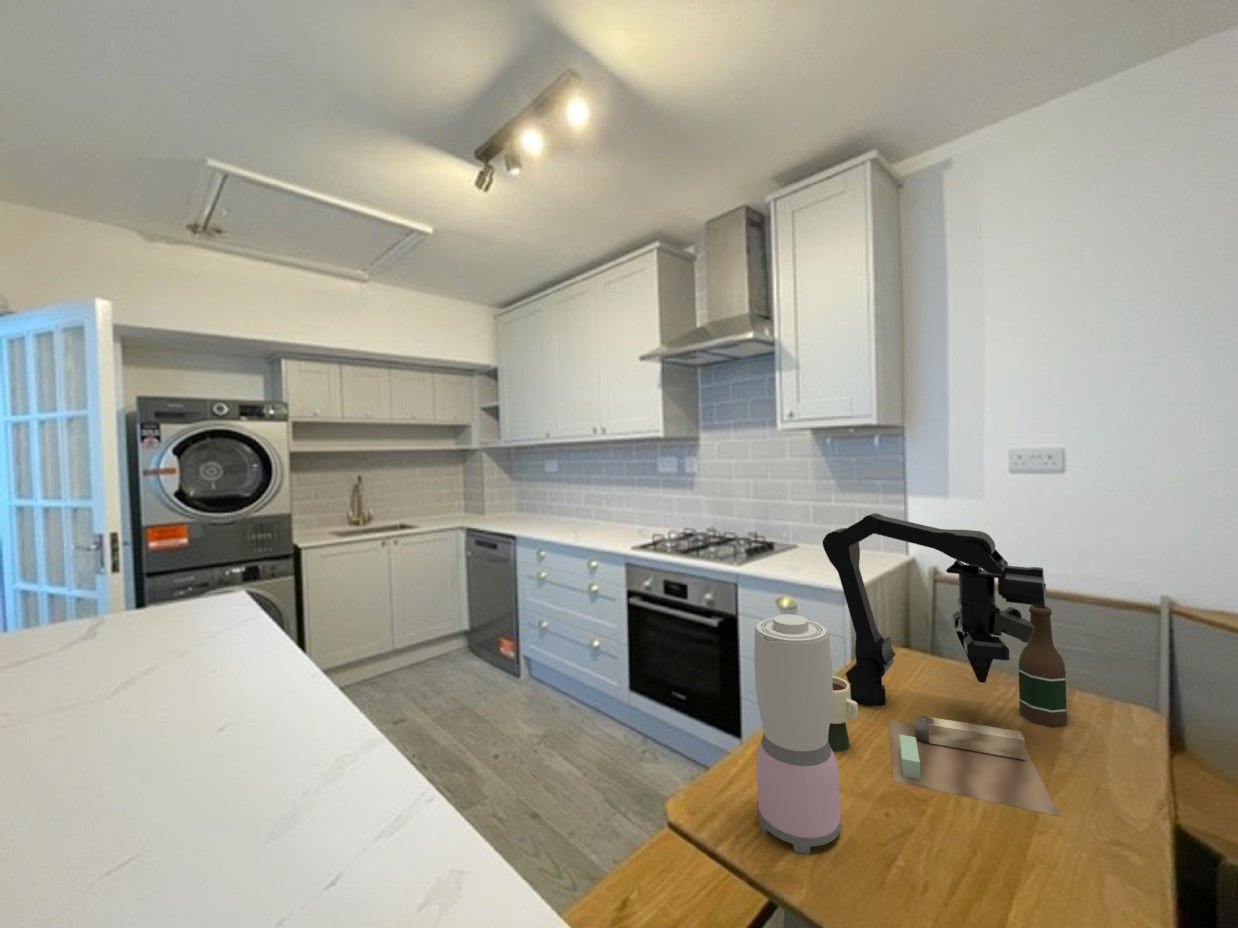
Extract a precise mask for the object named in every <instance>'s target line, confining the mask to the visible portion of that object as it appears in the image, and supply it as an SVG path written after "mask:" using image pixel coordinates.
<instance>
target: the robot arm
mask: <svg viewBox="0 0 1238 928" xmlns="http://www.w3.org/2000/svg"><path fill="white" fill-rule="evenodd" d="M872 535H878V536H882V537H887V538H891V539H893V540H894V539H895V540H899V541H901V542H906V543H910V544H914V545H918V546H922V547H927V548H930V549H933V550H936V551H939V552H941V553H942V554H945V555H946V556H948V557H949V558H952V559H954V560H955V561H954V562H953V564H951V565H950V566H949V567H948V568H947V569H946V571H945V572H946V573H948V574H954V575H955V574H957V575H958V594H959V595H958V598H957V605H958V606H959V610H958V611H956V612H954V613H953V614H952V615H951V617H952V627H954V628H955V629H958V628H959V627H960V630H959V631H958V630H957V631H955V634H956V636H957V638H958V640H959V643H960V645H961V647H962V648H963V650H964V651H963V652H964V653H965V655H966V658H967V659H968V662H969V664H970V666H971V669H972V671H973V673H974V675H975V677H976V679H977V681H978V683H982V684H983V683H984V684H986V681H987V679H988V676H989V672H990V669H991V665H992V662H993V661H994V660H999V661H1010V649H1009V647H1008V646H1007V644H1006V643H1005V642H1004V641H1003V640H1002V639H1001V638H1000V637H1002V634H1005V635H1007V636H1010V637H1013V638H1016V639H1018V640H1020V641H1021V642H1024V643H1026V644H1028V643H1029V641H1030V639H1031V637H1032V635H1033V632H1034V630H1035V627H1034V626H1033V624H1032V623H1031V622H1030V620H1028V619H1027V618H1022V613H1021V611H1020V610H1019V609H1018V608H1015V607H1013V606H1009V607H1008V608H1006V609H1004V610H1002V609H1000V608H999V607H998V606H997V604H996V584H995V583H996V582H995V581H996V580H995V578H996V579H997V591H998V592H997V593H998V596H1001V599H1005V601H1006V603H1012V604H1013V603H1015V604H1020V605H1036V606H1043V607H1045V606H1046V605H1047V584H1046V582H1045V577H1044V576H1045V575H1044V568H1043V567H1039V566H1037V567H1036V566H1031V567H1027V566H1026V567H1025V566H1014V565H1009V563H1008V561H1006V559H1005V558H1004V557H1003V556H1002V555H1001V554H1000V552H999V551H998V550H997V549H996V544H995V541H994V540H993V538H992V536H991V535H989V533H986V532H984V531H981V530H970V529H944V528H937V527H934V526H929V525H924V524H921V523H920V524H919V523H915V522H911V521H907V520H903V519H898V518H895V517H888V516H885V515H883V514H880V513H877V512H875V513H870V514H868V515H866V516H864V517H863V518H862V519H861V520H859V521H857V522H856V523H854V524H852V525H850V526H847V527H842V528H841V527H840V528H838V529H835V530H833V531H831V532H828V533H827V534H826V535H825V536H824V538H823V540H822V548H823V550H824V552H825V554H826V556H827V558H828V561H829V562H830V564H831V565H832V566H833V567H834V569H835V570H836V572H837V573H838V576H839V580H840V584H841V587H842V590H843V594H844V597H845V601H846V604H847V608H848V609H847V610H848V611H849V615H850V619H851V622H852V626H853V629H854V634H855V644H854V645H855V646H854V654H855V663H854V664H852V666H851V667H850V668H849V669H848V670H847V671H846V672H845V676H846V679H847V682H848V683H849V685H850V696H851V700H853V701H855V702H856V703H857V704H858V705H862V706H865V707H877V706H881V707H882V706H886V705H887V702H886V699H887V698H886V687H885V686H886V685H884V684H883V679H882V678H883V676H885V674H886V673H887V672H888V671H889V669H890V668H892V665H893V664H894V658H895V657H896V653H895V651H894V650H893V648H892V641H891V638H890V637H889V636H888V637H883V635H882V634H881V633H880V632H879V630H878V627H877V624H876V622H875V617H874V614H873V611H872V607H871V604H870V603H871V602H870V600H869V597H868V593H867V591H866V587H865V582H864V580H863V576H862V573H861V569H860V559H861V558H860V557H861V556H860V555H861V549H860V542H862V541H863V540H865V539H867V538H868V537H870V536H872ZM1046 607H1047V606H1046ZM999 636H1000V637H999Z"/></svg>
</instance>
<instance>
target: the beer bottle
mask: <svg viewBox="0 0 1238 928" xmlns="http://www.w3.org/2000/svg"><path fill="white" fill-rule="evenodd" d="M1028 612H1029V613H1030V620H1029V622H1031V623H1032V624H1033V626H1034V627H1035V630H1034V632H1033V635H1032V637H1031V639H1030V641H1029V643H1026V645H1025V647H1023V649H1022V650H1021V653H1020V655H1019V658H1018V695H1019V696H1018V698H1019V699H1018V701H1019V715H1020V717H1022V718H1024V719H1026V720H1027V721H1028V722H1030V723H1032V724H1036V725H1041V726H1044V727H1048V728H1051V729H1052V728H1053V729H1054V728H1063V727H1064V728H1066V727H1067V725H1068V724H1067V723H1068V722H1067V721H1068V720H1067V719H1068V713H1067V712H1068V711H1067V710H1068V709H1067V680H1066V679H1067V677H1066V676H1067V675H1066V666H1065V661H1064V660H1063V658H1062V657H1063V656H1062V655H1061V653H1060V652H1059V651H1058V650H1057V649H1056V647H1055V644H1054V640H1053V632H1052V630H1053V629H1052V621H1051V616H1052V614H1053V612H1052V609H1051V608H1050V607H1049V606H1045V607H1043V606H1036V605H1030V606H1029V609H1028Z"/></svg>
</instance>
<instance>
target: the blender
mask: <svg viewBox="0 0 1238 928" xmlns="http://www.w3.org/2000/svg"><path fill="white" fill-rule="evenodd" d="M830 643H831V642H830V633H829V630H828V629H827V628H826V627H825V626H824V625H823V624H820V623H819V622H817V621H813V620H810V619H807V618H806V617H805V616H803V615H799V614H791V613H790V614H789V613H786V614H785V613H784V614H778V615H776V616H774V617H771V618H767V619H763V620H761V621H759V622H758V623H757V624H756V626H755V627H754V649H753V651H754V653H753V657H754V658H753V659H754V679H755V680H754V681H755V693H756V698H757V705H758V710H759V715H760V719H761V723H762V730H763V732H762V737H761V739H760V742H759V744H758V746H757V749H756V756H755V767H756V768H755V770H756V787H757V788H756V790H757V791H756V792H757V800H756V801H757V803H756V804H757V806H756V809H757V816H758V817H757V818H758V822H759V826H760V829H761V831H762V832H763V833H764V834H768V833H770V834H771V835H773V836H774V837H776V838H777V839H780V840H781V841H783V842H786V843H789V844H792V846H793V852H795V853H798V854H804V855H806V854H807V855H809V854H811V853H810V852H811V847H820V846H824V845H826V844H829V843H831V842H833V841H834V840H835V839H837V838H838V836H839V835H840V833H841V829H842V826H841V825H842V819H841V804H840V803H841V800H840V799H841V798H840V797H841V796H840V776H839V773H840V772H839V765H838V762H837V758H836V756H835V752H834V751H832V749H831V747H830V745H829V742H828V732H829V726H830V718H831V710H832V701H833V684H832V676H833V665H832V664H833V662H832V653H831V644H830Z"/></svg>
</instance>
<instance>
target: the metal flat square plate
mask: <svg viewBox="0 0 1238 928" xmlns="http://www.w3.org/2000/svg"><path fill="white" fill-rule="evenodd" d="M887 721H888V730H889V731H888V732H889V733H888V734H889V744H890V757H891V767H892V768H891V769H892V780H893V781H892V782H893V783H894V782H895V783H899V784H904V785H909V786H913V787H919V788H923V789H928V790H933V791H937V792H942V793H946V794H952V795H955V796H961V797H966V798H971V799H976V800H980V801H985V802H989V803H993V804H999V805H1005V806H1009V807H1014V808H1018V809H1022V810H1028V811H1032V812H1033V811H1034V812H1037V813H1042V814H1047V815H1051V816H1056V817H1061V815H1060V813H1059V811H1058V809H1057V807H1056V805H1055V803H1054V802H1053V799H1052V798H1051V795H1050V793H1049V791H1048V789H1047V788H1046V786H1045V783H1044V782H1043V780H1042V778H1041V776H1040V775H1039V772H1038V770H1037V768H1036V766H1035V765H1034V762H1033V761H1032V759H1031V757H1030V754H1029V753H1028V751H1027V750H1026V748H1025V759H1026V760H1023V759H1017V758H1012V757H1006V756H1000V755H995V754H989V753H983V752H978V751H972V750H966V749H961V748H955V747H949V746H944V745H938V744H932V743H925V742H922V741H920V740H918V739H917V738H916V743H917V749H918V755H919V761H920V780H919V779H914V778H909V777H904V776H903V774H902V765H901V756H900V738H899V734H900V735H905V736H911V737H915V723H910V722H905V721H900V720H892V719H888V720H887Z"/></svg>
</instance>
